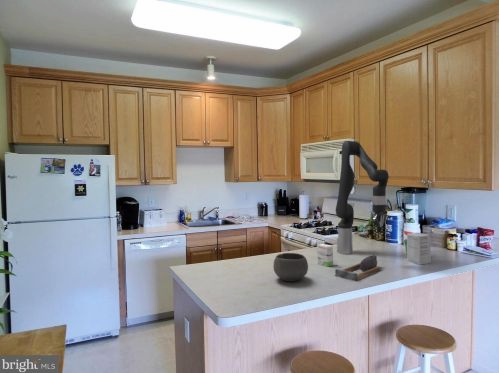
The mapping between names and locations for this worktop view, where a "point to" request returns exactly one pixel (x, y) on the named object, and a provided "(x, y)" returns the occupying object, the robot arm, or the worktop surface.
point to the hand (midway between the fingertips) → (379, 232)
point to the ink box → (325, 254)
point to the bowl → (290, 266)
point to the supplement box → (418, 248)
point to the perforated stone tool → (368, 262)
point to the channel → (350, 275)
